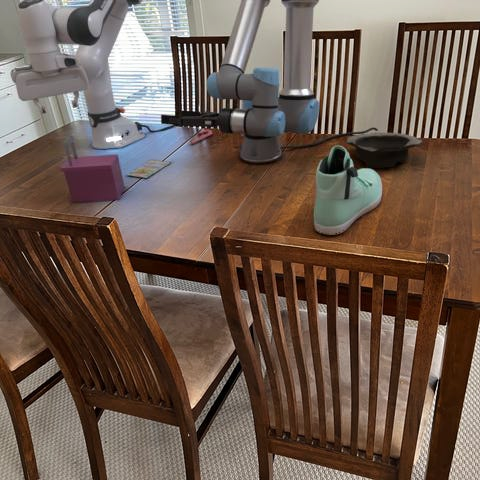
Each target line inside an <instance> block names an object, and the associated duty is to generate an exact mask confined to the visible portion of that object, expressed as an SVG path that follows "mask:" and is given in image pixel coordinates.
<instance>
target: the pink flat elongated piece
mask: <svg viewBox="0 0 480 480" xmlns="http://www.w3.org/2000/svg"><path fill="white" fill-rule="evenodd" d="M213 134H214V132H213V130H211V129H202V130H199V132H198V135H200V136H199V137H197V138H194V139H192V140H191V141H190V144H191V145H195V144H197V143H199V142H201V141H202V140H204V139H206V138H209V137H210V136H212V135H213Z"/></svg>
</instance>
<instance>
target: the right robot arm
mask: <svg viewBox="0 0 480 480" xmlns="http://www.w3.org/2000/svg"><path fill="white" fill-rule="evenodd" d="M270 3H271V0H241V1H240V3H239V7H238V11H237V14H236V17H235V20H234V23H233V26H232V29H231V31H230V32H231V33H230V36H229V39H228V42H227V45H226V48H225V51H224V54H223V58H222V61H221V64H220V67H219V70H218V71H215V72H212V73H210V75H208V77H207V80H206V90H207V93H208V95H209V96H210V97H212V98H214V99H219V100H223V101H224V100H235V101H236V100H237V101H241V108H232V107H223V108H221V109H220V111H219V112H215V111H210V110H209V111H208V110H206V111H204V110H203V111H197V110H185V109H184V110H183V109H182V110H181V113H179V114H178V115H173V114H160V123H161V125H168V126H171V125H177V126H178V127H179V128H182V127H194V128H195V127H197V128H198V127H199V128H200V127H203V128H204V127H205V128H216V127H218V129H219V132H221V133H222V134H230V135H233V134H235V135H240V136H241V137H243V141H242V144H241V146H240V147H238V148H237V150H238V151H237V152H238V153H240V154H239V155H240V160H241V161H243V162H244V163H247V164H249V165H250V164H251V165H266V164H271V163H275V162H277V161H279V160H281V158H282V157H283V154H282V153H283V152H282V151H283V150H285V149H286V150H287V149H300V148H308V147H314V146H317V145H320V144H323V143H324V142H326V141H328V140H331V139H335V138H338V137H339V138H340V137H344V136H354V135H359V134H366V133H370V131H373V130H374V132H375V131H376V132H378V131H379V130H378V128H377V127H370V128H368V129H366V130H363V131H362V130H361V131H351V132H343V133H339V134H338V133H337V134H334V135H331V136H328V137H325V138H323V139H321V140H320V141H315V142H312V143H308V144H307V143H306V144H300V145H283V146H281V144H280V142H279V140H278V138H279V137H281V136H283V134H284V133H285V134H286V133H287V134H295V135H307V134H310V133H311V132H312V131H313V130H314V128H315V126H316V124H317V121H318V118H319V115H320V114H319V113H320V101H319V100H318V99H316V98H315V92H314V90H313V89H311V69H312V68H311V67H312V50H313V28H314V9H315V7H316V5H318V3H320V0H281V4H282V5H283V6H284V8H285V33H284V35H285V36H284V64H283V65H284V68H283V70H284V71H283V72H284V74H283V88H282V89H281V90H279V89H280V71H279V69H278V68H276V67H254V68H253V71H252V73H245V71H246V69H247V65H248V62H249V60H250V57H251V53H252V50H253V47H254V43H255V40H256V37H257V34H258V31H259V27H260V24H261V21H262V18H263V14H264V11H265V8H266V7H268V6H269V5H270Z"/></svg>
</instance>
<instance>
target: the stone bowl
mask: <svg viewBox="0 0 480 480" xmlns="http://www.w3.org/2000/svg"><path fill="white" fill-rule="evenodd" d="M420 144H423V141H422V139H419V138H418V137H416V136H413V135H411V134H405V133H398V132H371V133H370V132H367V133H363V134H354V135H350V136H349V137H347V139H346V145H349V146H351V147H354V149H355V153H356V155H357V156H358V158H359V159H360V160H361V161H363V162H365V167H366V168H368V169H372V168H373V169H383V168H392V167H394V166H396V165H397V163H405V162H406V161H407V160H408V156H409V149H412V148H414V147H417V146H419V145H420Z"/></svg>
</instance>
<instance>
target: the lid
mask: <svg viewBox="0 0 480 480" xmlns="http://www.w3.org/2000/svg"><path fill="white" fill-rule="evenodd" d="M74 141H75V137H74V136H73V135H69V136H68V137H66V139H65V140H64V141H63V142H62V144H61V146H62V147H63V148H64V150H65V154H66V158H67V159H66V161H65V162H63V164H62V165H61V166H60V168H59V170H60V172H63V173H64V171H80V170H96V169H112V167H113V166H114V164H115V162H116V161H117V159H118V158H119V155H118V153H117V154H102V155H87V156H78V154H77V151H76V147H75V143H74ZM70 145H71V149H72V154H73V156H71V154H70V150H69V146H70Z"/></svg>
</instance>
